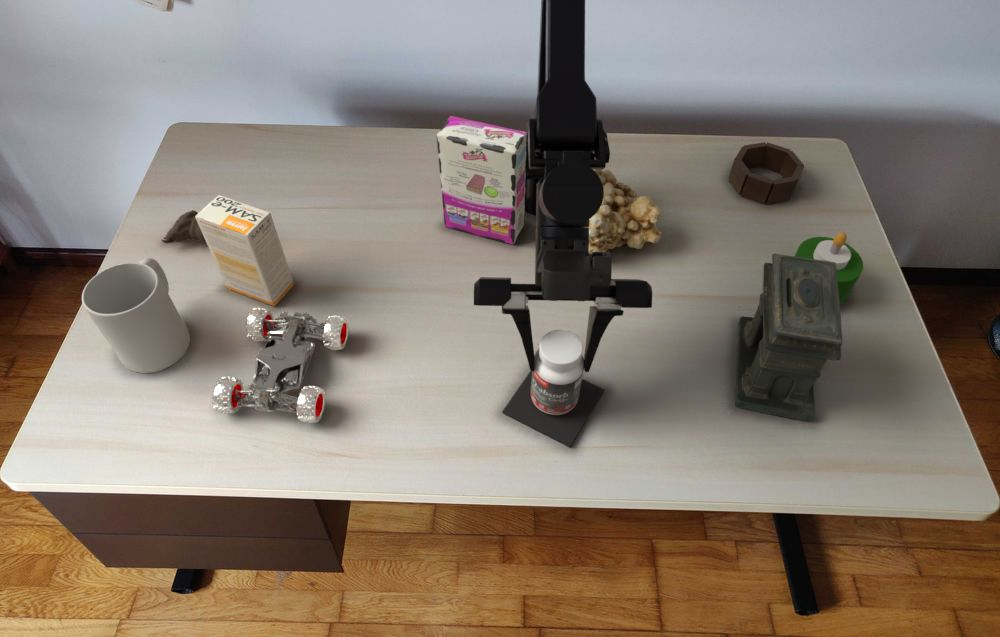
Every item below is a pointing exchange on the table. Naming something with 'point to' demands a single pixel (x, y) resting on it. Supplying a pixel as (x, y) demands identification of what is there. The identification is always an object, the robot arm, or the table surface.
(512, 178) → the candy bar box
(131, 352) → the mug
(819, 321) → the model
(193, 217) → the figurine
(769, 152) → the holder ring
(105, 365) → the table surface
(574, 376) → the pill bottle
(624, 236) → the mineral formation
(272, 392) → the toy car
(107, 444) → the table surface
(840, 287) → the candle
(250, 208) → the supplement box
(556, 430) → the rubber mat
